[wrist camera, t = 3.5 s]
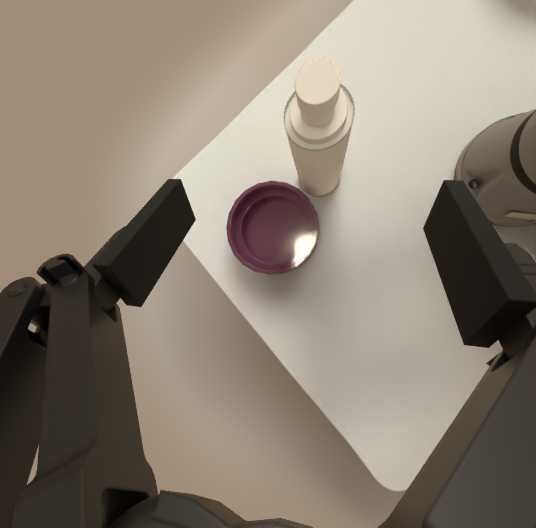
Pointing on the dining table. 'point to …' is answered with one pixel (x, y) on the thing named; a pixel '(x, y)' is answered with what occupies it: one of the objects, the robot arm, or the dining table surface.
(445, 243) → the robot arm
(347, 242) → the dining table surface
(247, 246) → the bowl
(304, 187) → the spray bottle
